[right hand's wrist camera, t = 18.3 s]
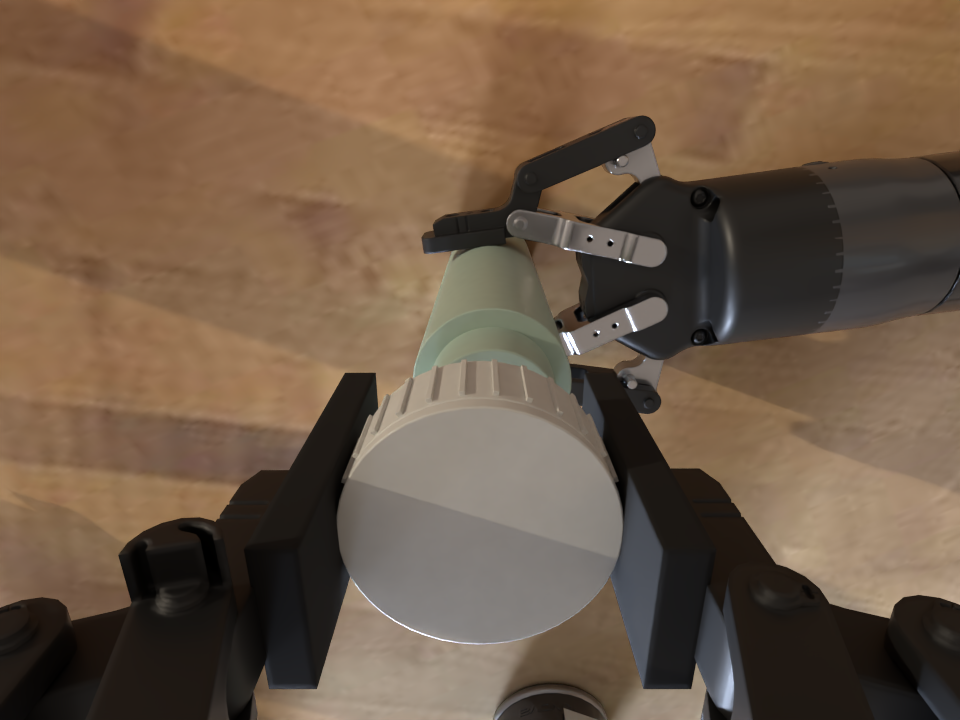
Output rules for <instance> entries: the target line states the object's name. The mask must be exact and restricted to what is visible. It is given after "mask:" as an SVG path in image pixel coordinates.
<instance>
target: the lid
mask: <svg viewBox="0 0 960 720" xmlns="http://www.w3.org/2000/svg"><path fill="white" fill-rule="evenodd" d="M618 481H619V480H618V477H617V475H616V472H615V470H614V467H613V465H612V462H611V460H610V457H609V455H608V452H607V450H606V447H605V445H604V443H603V440H602V438H601V437H600V436H599V433H598V431H597V428H596V426H595V423H594V421H593V418H592V416H591V415H590V414H588V415H586V414H585V412H584V411H583V409H582V408H581V407H580V406H579V404H578V402H577V399H576V397H575V395H574V394H573V393H571V394H570V395H569V394H568V393H567V392H566V391H565V390H563V389H562V388H561V387H560V386H558V385H557V384H555V383H554V380H553V378H551V377H550V376H549V377H548V378H546V377H544V376H542V375H540V374H538V373H536V372H534V371H531V370H528V369H527V366H524V365H521V367H520V366H516V365H511V364H507V363H502V362H497V360H496V359H492V361H467V359H464V360H461V362H460V363H453V364H448V365H445V366H441V367H438V366H437V365H436V366H433V367H432V370H429V371H427V372H425V373H422V374H420V375H418V376H416V377H415V378H413V379H411V378H410V377H409V378H407V379H406V380H405V383H404V384H403V385H402V386H401V387H399V388H398V389H397V390H396V391H394V392H393V393H392V394H391V395H390V396H389V395H388V394H386V395H385V396H384V398H383V401H382V403H381V406H380V407H379V408H378V410H377V411H376V413H375V414H374V415H373V416H372V415H369V417H368V418H367V421H366V423H365V426H364V428H363V431H362V433H361V436H360V438H358V441H357V443H356V446H355V448H354V451H353V453H352V455H351V458H350V460H349V463H348V465H347V468H346V470H345V473H344V475H343V478H342V481H341V483H344V487H343V490H342V493H341V496H340V499H339V503H338V509H337V515H336V517H337V531H338V540H339V548H340V553H341V556H342V559H343V563H344V565H345V567H346V569H347V571H348V573H349V575H350V577H351V578H352V580H353V581H354V583H355V584H356V586H357V587H358V589H359V590H360V591H361V592H362V594H363V595H364V596H365V597H366V598H367V599H368V600H369V601H370V602H371V603H372V604H373V605H374V606H375V607H376V608H378V609H379V610H380V611H381V612H382V613H384V614H385V615H387V616H388V617H390V618H391V619H392V620H394V621H395V622H397V623H399V624H401V625H403V626H405V627H407V628H409V629H411V630H413V631H416V632H418V633H421V634H423V635H426V636H430V637H433V638H437V639H440V640H445V641H451V642H456V643H466V644H495V643H503V642H511V641H515V640H519V639H524V638H528V637H531V636H534V635H537V634H540V633H542V632H545V631H547V630H549V629H551V628H553V627H555V626H558V625H559V624H561V623H563V622H564V621H566V620H568V619H569V618H571V617H572V616H574V615H575V614H576V613H578V612H579V611H580V610H581V609H583V608H584V607H585V606H586V605H587V604H588V603H589V602H590V601H591V600H592V599H593V598H594V597H595V596H596V595H597V594H598V593H599V591H600V590H601V589H602V587H603V586H604V585H605V584H606V582H607V580H608V578H609V577H610V575H611V573H612V572H613V570H614V567H615V565H616V562H617V560H618V557H619V555H620V550H621V543H622V534H623V524H624V517H623V507H622V503H621V499H620V495H619V492H618V489H617V487H616V484H615V482H618Z"/></svg>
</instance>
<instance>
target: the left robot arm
mask: <svg viewBox="0 0 960 720" xmlns="http://www.w3.org/2000/svg"><path fill="white" fill-rule="evenodd" d="M655 131H656V129H655V124H654V122H653V121H652V120H651V119H650V118H649V117H647V116H636V117H629V118H624V119H622V120H619V121H617V122H615V123H612V124H610V125H608V126H606V127H603V128H601V129H599V130H596V131H594V132H592V133H590V134H587V135H585V136H583V137H580V138H578V139H576V140H573V141H571V142H569V143H567V144H564V145H562V146H560V147H557V148H555V149H553V150H550V151H548V152H546V153H544V154H541V155H539V156H537V157H534V158H532V159H530V160H528V161H525V162H523V163H521V164H520V165H519V166H518V167H517V168H516V170H515V174H514V181H513V185H512V189H511V194H510V197H509V199H508V200H507V202H506V203H505V204H503V205H502V206H500V207H497V208H490V209H483V210H476V211H468V212H461V213H454V214H446V215H444V216H442V217H441V218H439V219H437V220H435V222H434V224H433V229H434V231H429V232H426V233H424V235H423V236H422V244H423V250H424V253H425V254H432V253H440V252H447V251H455V250H463V249H470V248H478V247H484V246H493V245H501V244H506V238H510V237H516V238H521V239H526V240H531V241H536V242H541V243H546V244H551V245H555V246H557V247H560V248H563V249H567V250H572V251H576V260H577V263H578V266H579V268H580V271H581V274H582V277H581V282H580V287H579V302H580V303H578V304H576V305H574V306H572V307H570V308H567V309H565V310H563V311H562V312H560V313H559V314H558V316H556V317H555V318H553V319H554V321H555V324H556V327H557V330H558V333H559V335H560V338H561V341H562V344H563V347H564V349H565V352H566V355H567V356H569V355H572V354H576V355H579V354H583V353H586V352H588V351H590V350H593V349H595V348H597V347H599V346H601V345H604V344H606V343H608V342H610V341H613V340H616V341H617V342H619V343H621V344H623V345H625V346H627V347H629V348H630V349H632V350H634V351H636V352H638V353H640V354H639V356H638V357H637V358H635V359H634V360H631V361H622V362H620V363H618V364H617V365H616V366H615V367H614V369H609V368H601V367H593V366H585V365H577V364H569V365H570V369H571V379H572V381H571V392H570V394H571V393H573V394H574V395H575V397H576V399H577V402H578V404H579V406H582V404H583V390H584V376H585V373H616V375H617V377H618V379H619V380H620V382H621V384H622V386H623V387H624V389H625V391H626V393H627V394H628V396H629V398H630V400H631V401H632V403H633V405H634V406H635V408H636V410H637V412H638V413H644V414H650V413H653V412H655V411H656V410H658V409H659V407H660V405H661V398H660V396H659V395H658V393H657V390H656V389H657V385H658V381H659V377H660V373H661V369H662V366H663V362H664V360H665V359H669V358H671V357H673V356H674V355H676V354H678V353H679V352H681V351H683V350H685V349H687V348H690V347H693V346H707V345H721V344H730V343H738V342H746V341H755V340H763V339H771V338H780V337H788V336H797V335H805V334H813V333H821V332H829V331H838V330H846V329H854V328H861V327H867V326H872V325H877V324H881V323H885V322H889V321H892V320H896V319H900V318H905V317H910V316H916V315H926V314H934V313H942V312H951V311H959V310H960V151H955V152H947V153H940V154H933V155H925V156H918V157H911V158H902V159H856V160H846V161H838V162H830V163H829V162H822V161H818V162H812V163H807V164H804V165H802V166H800V167H793V168H786V169H779V170H771V171H764V172H757V173H749V174H742V175H735V176H728V177H720V178H713V179H706V180H698V181H691V182H679V181H676V180H674V179H672V178H670V177H667V176H662V175H660V172H659V168H658V165H657V161H656V158H655V155H654V151H653V148H652V144H651V141H652V140H653V138H654V136H655ZM600 165H602V167H603V169H604V170H605V171H606V172H608V173H611V174H614V175H622V174H630V175H631V176H632V177H633V178H634V180H635V182H634V183H633V184H632V185H631V186H630V187H629V188H628V189H627V190H626V191H625V192H623V193H622V194H621V195H620V196H619V197H618V198H617V199H616V200H615V201H613V202H612V203H611V204H610V205H609V206H608V207H607V208H606V209H605V210H604V211H602V212H601V213H600V214H599V215H598V216H597V217H596V218H592V217H587V216H582V215H577V214H572V213H567V212H562V211H553V210H548V209H543V208H538V203H539V199H540V195H541V191H542V190H543V189H546V188H548V187H550V186H553V185H555V184H557V183H560V182H562V181H565V180H567V179H569V178H572V177H574V176H576V175H579V174H581V173H583V172H586V171H588V170H590V169H593V168H595V167H597V166H600ZM594 332H596V333H595V334H594ZM493 720H608V719H607V715H606V712H605V710H604V708H603V707H602V705H601V704H600V703H599V702H598V701H597V700H596V699H595V698H594V697H593V696H591V695H590V694H588V693H586V692H584V691H582V690H580V689H577V688H574V687H571V686H566V685H559V684H544V685H537V686H532V687H528V688H525V689H522V690H520V691H518V692H516V693H514V694H512V695H511V696H510V697H508V698H507V699H506V700H504V701H503V702H502V704H501V705H500V706H499V707H498V709H497V710H496V712H495V714H494V717H493Z"/></svg>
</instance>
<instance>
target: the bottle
mask: <svg viewBox="0 0 960 720" xmlns="http://www.w3.org/2000/svg"><path fill="white" fill-rule="evenodd" d="M464 359H467V361H492V359H496V360H497V362H502V363H507V364H511V365H516V366H520V367H521V365H524V366H527V369H528V370H531V371H534V372H536V373H538V374H540V375H542V376H544V377H546V378H548V377H549V376H550V377H551V378H553V380H554V383H555V384H557V385H558V386H560V387H561V388H562V389H563V390H565V391H566V392H567V393H568V394H569V395H570V392H571V381H572V379H571V369H570V365H569V361H568V358H567V355H566V352H565V349H564V347H563V344H562V341H561V338H560V335H559V333H558V330H557V327H556V324H555V321H554V319H553V316H552V313H551V310H550V307H549V305H548V302H547V299H546V296H545V293H544V291H543V288H542V285H541V282H540V279H539V277H538V274H537V271H536V268H535V266H534V263H533V260H532V257H531V254H530V252H529V249H528V246H527V244H526V242H525V240H524V239H521V238H516V237H510V238H506V244H501V245H493V246H484V247H478V248H470V249H463V250H455V251H452V252H451V255H450V258H449V261H448V265H447V268H446V271H445V274H444V277H443V280H442V283H441V286H440V289H439V292H438V295H437V298H436V301H435V304H434V307H433V310H432V313H431V316H430V319H429V322H428V325H427V328H426V332H425V335H424V338H423V341H422V344H421V347H420V350H419V353H418V356H417V359H416V363H415V367H414V373H413V378H415V377H416V376H418V375H420V374H422V373H425V372H427V371H429V370H432V367H433V366H436V365H437V366H438V367H441V366H445V365H448V364H453V363H460V362H461V360H464Z"/></svg>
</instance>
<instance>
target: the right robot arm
mask: <svg viewBox="0 0 960 720" xmlns="http://www.w3.org/2000/svg"><path fill="white" fill-rule="evenodd" d="M582 409H583V411H584V412H585V414H586V415H588V414H590V415H591V416H592V418H593V421H594V423H595V426H596V428H597V431H598V433H599V436H600V437H601V438H602V440H603V443H604V445H605V447H606V450H607V452H608V455H609V457H610V460H611V462H612V465H613V467H614V470H615V472H616V475H617V477H618V480H619V481H618V482H615V484H616V487H617V489H618V492H619V495H620V499H621V503H622V507H623V517H624V524H623V534H622V543H621V550H620V555H619V557H618V560H617V562H616V565H615V567H614V570H613V572H612V573H611V575H610V577H611V581H612V584H613V588H614V591H615V594H616V598H617V601H618V604H619V608H620V611H621V615H622V618H623V621H624V625H625V628H626V631H627V635H628V638H629V642H630V645H631V648H632V652H633V655H634V658H635V662H636V665H637V668H638V672H639V675H640V679H641V682H642V685H643V689H691V687H692V682H693V676H694V671H695V665H696V663H697V665H698V668H699V670H700V672H701V675H702V677H703V680H704V682H705V685H706V687H707V690H706V695H705V700H704V705H703V710H702V715H701V720H960V605H959V604H956V603H953V602H950V601H947V600H944V599H941V598H936V597H929V596H922V595H916V596H910V597H903V598H902V599H901V600H900V601H899V602H897V603H896V604H895V606H894V609H893V612H892V615H891V618H890V619H889V618H884V617H880V616H876V615H871V614H867V613H863V612H858V611H854V610H850V609H845V608H842V607H839V606H835V605H832V604H829V602H828V601H827V599H826V597H825V596H824V594H823V593H822V591H821V590H820V589H819V588H818V587H817V586H816V585H815V584H813V583H812V582H811V581H810V580H809V579H807V578H806V577H805V576H803V575H801V574H799V573H797V572H795V571H793V570H791V569H789V568H787V567H783V566H780V565H776V563H775V562H774V561H773V559H772V558H771V556H770V555H769V553H768V552H767V551H766V549H765V548H764V546H763V545H762V543H761V542H760V540H759V539H758V538H757V536H756V535H755V533H754V532H753V530H752V529H751V527H750V526H749V525H748V523H747V522H746V520H745V519H744V517H741V513H740V512H739V510H738V509H737V507H736V506H735V504H734V503H731V499H730V497H729V496H728V494H727V493H726V492H725V490H724V489H723V487H722V486H721V484H720V483H719V482H717V481H716V480H715V479H713V478H712V477H710V476H709V475H708V474H706V473H705V472H703V471H702V470H701V469H670V467H669V466H668V464H667V462H666V460H665V459H664V457H663V455H662V453H661V452H660V450H659V448H658V446H657V445H656V443H655V441H654V439H653V438H652V436H651V434H650V433H649V431H648V429H647V427H646V426H645V424H644V422H643V420H642V419H641V417H640V415H639V413H638V412H637V410H636V408H635V406H634V405H633V403H632V401H631V400H630V398H629V396H628V394H627V393H626V391H625V389H624V387H623V386H622V384H621V382H620V380H619V379H618V377H617V375H616V373H585V376H584V390H583V404H582ZM377 410H378V399H377V385H376V373H345V374H344V376H343V378H342V379H341V381H340V383H339V385H338V386H337V388H336V390H335V391H334V393H333V395H332V397H331V398H330V400H329V402H328V404H327V405H326V407H325V409H324V411H323V412H322V414H321V416H320V418H319V419H318V421H317V423H316V424H315V426H314V428H313V430H312V431H311V433H310V435H309V437H308V438H307V440H306V442H305V444H304V445H303V447H302V449H301V451H300V452H299V454H298V456H297V458H296V459H295V461H294V463H293V464H292V466H291V468H290V470H261V471H260V472H258V473H257V474H256V475H254V476H253V477H251V478H250V479H249V480H247V481H246V482H244V483H243V484H242V485H241V486H240V487H239V489H238V490H237V491H236V493H235V494H234V496H233V497H232V499H231V500H230V504H229V505H227V506H226V507H225V509H224V510H223V512H222V513H221V515H220V519H217V520H216V522H214V521H212V520H208V519H204V518H200V517H199V518H180V519H176V520H172V521H168V522H164V523H161V524H159V525H157V526H154V527H152V528H150V529H148V530H146V531H143V532H142V533H141V534H139V535H138V536H136V537H135V538H134V539H132V540H131V541H130V542H128V543H127V545H126V546H125V547H124V548H123V550H122V551H121V552H120V554H119V555H118V556H119V559H120V563H121V566H122V570H123V573H124V577H125V581H126V584H127V588H128V591H129V595H130V598H131V602H132V603H131V606H130V607H127V608H123V609H120V610H117V611H112V612H108V613H104V614H99V615H95V616H91V617H86V618H82V619H78V620H73V621H71V619H70V616H69V613H68V610H67V607H66V606H65V605H63V604H62V603H61V602H60V601H59V600H56V599H49V598H43V597H41V598H35V599H28V600H21V601H18V602H15V603H12V604H10V605H6V606H4V607H1V608H0V720H257V707H256V700H255V695H254V688H255V686H256V684H257V681H258V679H259V676H260V674H261V671H262V669H263V666H264V664H265V669H266V674H267V680H268V685H269V689H317V687H318V683H319V680H320V676H321V673H322V670H323V666H324V663H325V660H326V656H327V653H328V649H329V646H330V643H331V639H332V636H333V633H334V629H335V626H336V622H337V619H338V616H339V612H340V609H341V606H342V602H343V599H344V595H345V592H346V589H347V585H348V582H349V579H350V575H349V573H348V571H347V569H346V567H345V565H344V563H343V559H342V556H341V553H340V548H339V540H338V531H337V517H336V515H337V509H338V503H339V499H340V496H341V493H342V490H343V487H344V483H341V481H342V478H343V475H344V473H345V470H346V468H347V465H348V463H349V460H350V458H351V455H352V453H353V451H354V448H355V446H356V443H357V441H358V438H360V436H361V433H362V431H363V428H364V426H365V423H366V421H367V418H368V417H369V415H372V416H373V415H374V414H375V413H376V411H377Z"/></svg>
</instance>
